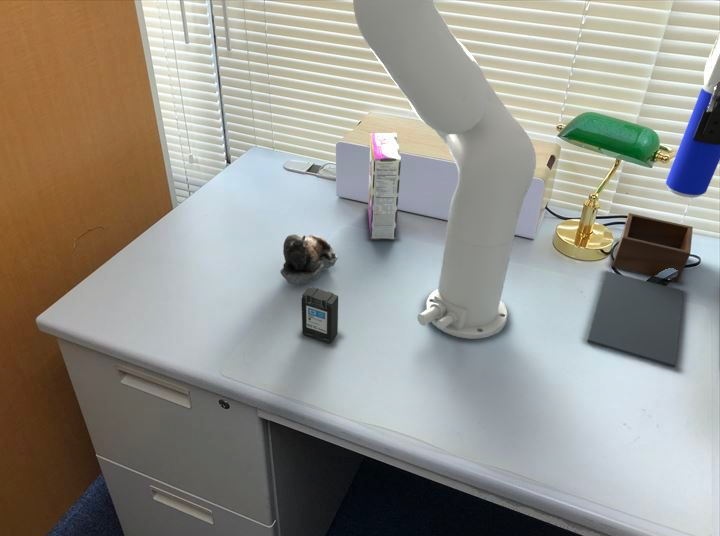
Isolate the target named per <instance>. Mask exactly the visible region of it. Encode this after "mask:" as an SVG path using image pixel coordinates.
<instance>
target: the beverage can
mask: <svg viewBox="0 0 720 536" xmlns="http://www.w3.org/2000/svg"><path fill="white" fill-rule="evenodd" d="M715 86H716V85H710V87H707V86H706V85H705V84H704V83H703V85H702V87H701V89H700V92H699V93H698V97H697V99H696V102H695V105H694V107H693V109H692V112H691V115H690V118H689V121H688V123H687V125H686V129H685V131H684V134H683V136H682V139H681V142H680V143H679V146H678V150H677V152H676V155H675V157H674V160H673V162H672V165H671V167H670V170H669V172H668V175H667V178H666V180H665V184H666V188H667V189H668V191H670V192H671V193H672V194H674V195H676V196H679V197H683V198H690V199H693V198H699V197H701V196H702V195H704V194H706V193H707V191H708V188H709V186H710V184H711V181H712V179H713V177H714V174H715V172H716V170H717V167H718V165H719V162H720V145H713V144H708V143H702V142H696V141H694V139H693V138H694V135H695V132H696V129H697V127H698V124H699V122H700V119H701V117H702V114H703V112H704V109H705V110H707V108H708V105H709V103H710V100H711V97H712V94H713V92H714V88H715ZM719 95H720V91H719V94H718V96H719Z"/></svg>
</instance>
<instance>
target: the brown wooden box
mask: <svg viewBox="0 0 720 536" xmlns="http://www.w3.org/2000/svg"><path fill="white" fill-rule="evenodd" d="M693 230H694V226H690V225H686V224H681V223H676V222H672V221H668V220H667V221H666V220H663V219H658V218H653V217H649V216H646V215H645V216H644V215H639V214H637V213H632V212H631V213H630V212H629V213H628V215H627V217H626V220H625V222H624V226H623V229H622V231H621V235H620V238H619V241H618V245H617V248H616V252H615V256H614V259H613V262H612V263H613V264H612V267H613V268H615V269H619V270H623V271H627V272H631V273H635V274H639V275H643V276H649V277H652V278H655V277H654V276H655V275H657V274H658V273H659V272H661V271H663V270H665V269H668V268H674V269H676V270H678V271H679V272H678V275H677V277H674V278H672V279H671V280H669V281H668V282H671V283H676V284H678V283H679V281H680V278H681V276H682V274H683V271H684V269H685V267H686V264H687V262H688V260H689V258H690V255H691V250H692V240H693Z"/></svg>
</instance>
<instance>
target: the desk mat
mask: <svg viewBox="0 0 720 536" xmlns="http://www.w3.org/2000/svg"><path fill="white" fill-rule="evenodd" d="M683 295H684V290H683V289H678V288H675V287H671V286H668V285H663V284H659V283H655V282H652V281H647V280H644V279H643V280H642V279H640V278H635V277H632V276H628V275H625V274H624V275H623V274H620V273H616V272H612V271H607V270H606V271H605V275H604V279H603V281H602V286H601V289H600V293H599V297H598V301H597V303H596V307H595V311H594V315H593V319H592V323H591V326H590V330H589V333H588V337H587V340H586V343H589V344H593V345H596V346H600V347H603V348H606V349H609V350H613V351H616V352H620V353H623V354H626V355H630V356H633V357H637V358H640V359H644V360H647V361H650V362H653V363H657V364H660V365H663V366H668V367H671V368H676V363H677V354H678V347H679V346H678V345H679V334H680V333H679V332H680V327H681V326H680V325H681V315H682V306H683Z"/></svg>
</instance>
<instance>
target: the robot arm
mask: <svg viewBox="0 0 720 536" xmlns="http://www.w3.org/2000/svg"><path fill="white" fill-rule="evenodd" d="M352 4H353V13H354V19H355V21H356V24H357V27H358V30H359V33H360V34H361V36H362V38H363V39H364V41H365V43H366V44H367V46H368V47H369V49H370V50H371V52H372V54H373V55H374V56H375V57H376V58H377V60H378V61H379V63H380V64H381V65H382V66H383V68H384V70H385V71H386V72H387V74H388V75H389V77H390V78H391V80H392V81H393V82H394V83H395V85H396V86H397V88H398V89H399V90H400V92H401V93H402V94H403V96H404V97H405V98H406V99H407V101H408V103H409V104H410V106H411V108H412V110H413V111H414V114H416V116H417V117H418V118H419V119H420V121H422V122H423V124H425V125H426V126H427V127H429V128H431V129H432V130H434V131H435V133H436V134H437V135H438V136H439V137H440V139H441V141H443V143H444V144H445V146H446V147H447V149H448V151H449V153H450V155H451V157H452V159H453V162H454V164H455V165H456V167H457V173H458V174H457V175H458V177H457V179H458V180H457V184H456V188H455V191H454V193H453V195H452V198H451V201H450V206H449V210H448V217H447V222H446V223H447V224H446V233H445V240H444V247H443V253H442V260H441V267H440V275H439V281H438V288H437V289H435V290H434V291H432V293H431V294H429V296H428V297H427V299H426V302H425V309H424V310H423V311H422V312H421V313H419V314H418V315H417V316H416V319H417V322H418V323H419V325H421V326H423V327H425V326H427V325H429V324H432V325H433V326H434V327H436V328H437V329H439V330H440V331H442V332H443V333H445V334H448V335H451V336H453V337H457V338H462V339H470V340H471V339H472V340H475V339H484V338H488V337H491V336H494V335H496V334H498V333H500V331H502V329H503V328H504V327H505V325H506V323H507V319H508V309H507V306H506V305H505V303H504V301H503V300H502V295H503V290H504V285H505V282H506V276H507V272H508V267H509V264H510V260H511V259H510V258H511V254H512V250H513V246H514V240H515V235H516V231H517V226H518V222H519V219H520V214H521V211H522V207H523V204H524V201H525V199H526V196H527V194H528V191H529V189H530V186H531V185H532V182H533V180H534V177H535V173H536V168H537V157H536V156H537V155H536V151H535V147H534V144H533V142H532V139H531V138H530V136H529V135H528V133H527V131H526V130H525V129H524V127H522V125H521V124H520V123H519V121H518V120H517V119H516V118H515V117H514V116H513V115H512V113H511V112H510V111H509V110H508V108H507V107H506V106H505V104H504V103H503V101H502V100H501V99H500V97H499V96H498V95H497V93H496V92H495V90H494V88H493V87H492V86H491V85H490V83H489V81H488V80H487V78H486V77H485V75H484V73H483V70H482V68H481V67H480V65H479V64H478V62H477V60H476V59H475V58H474V56H473V55H472V54H471V52H469V50H468V48H466V46H465V45H464V44H463V43H461V41H459V40H458V38H457V37H456V36H455V35H454V33H453V32H452V30H451V29H450V27H449V25H448V24H447V22H446V20H445V18H444V17H443V16H442V13H441V12H440V11H439V9H438V8H437V6H436V4H435V2H434V0H352ZM703 73H704V74H703V85H704V84H705V85H706V86H707V87H710V85H716V86H715V88H714V92H713V94H712V97H711V100H710V103H709V105H708V108H707V110H705V109H704V112H703V114H702V117H701V119H700V122H699V124H698V127H697V129H696V132H695V135H694V138H693V139H694V141H696V142H702V143H708V144H713V145H720V95H719V96H718V94H719V91H720V30H719V31H718V33H717V36H716V39H715V42H714V44H713V46H712V49H711V51H710V53H709V56H708V59H707V61H706V63H705V66H704V71H703Z"/></svg>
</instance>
